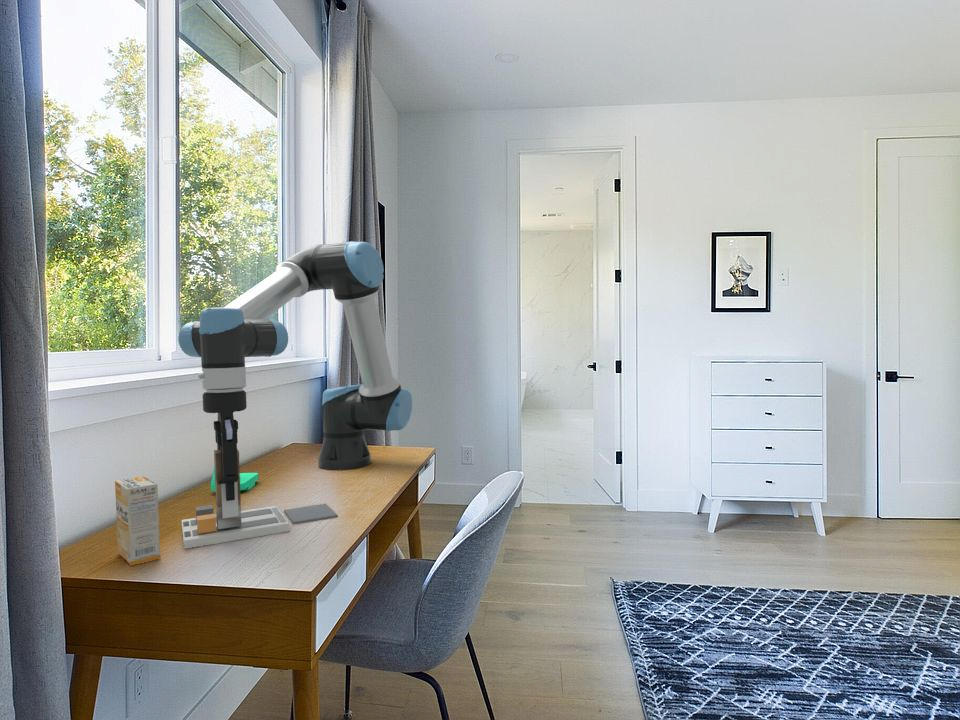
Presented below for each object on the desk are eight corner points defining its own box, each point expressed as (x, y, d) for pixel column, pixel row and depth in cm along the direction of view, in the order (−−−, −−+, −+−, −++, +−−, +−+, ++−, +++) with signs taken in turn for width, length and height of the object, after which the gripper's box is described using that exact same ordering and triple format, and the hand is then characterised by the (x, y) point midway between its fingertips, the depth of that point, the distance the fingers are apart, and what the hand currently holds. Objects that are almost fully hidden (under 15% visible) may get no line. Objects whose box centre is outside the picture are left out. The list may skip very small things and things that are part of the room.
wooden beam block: (239, 519, 113) (236, 448, 113) (241, 525, 110) (239, 451, 109) (216, 523, 112) (213, 450, 111) (218, 529, 108) (215, 453, 107)
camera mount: (243, 494, 141) (241, 452, 141) (211, 495, 141) (209, 453, 141) (259, 482, 153) (258, 443, 153) (230, 483, 153) (228, 444, 153)
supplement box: (116, 554, 102) (113, 480, 101) (147, 547, 105) (144, 475, 105) (129, 567, 96) (125, 488, 95) (161, 559, 99) (158, 482, 99)
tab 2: (214, 526, 111) (214, 513, 111) (216, 531, 108) (215, 517, 108) (197, 529, 109) (196, 516, 109) (198, 533, 107) (197, 520, 107)
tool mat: (325, 505, 130) (325, 503, 130) (337, 516, 121) (337, 514, 121) (283, 511, 126) (283, 509, 126) (292, 524, 117) (292, 522, 117)
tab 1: (212, 517, 117) (212, 504, 117) (213, 520, 114) (213, 508, 114) (195, 519, 116) (195, 507, 116) (196, 523, 113) (196, 510, 113)
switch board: (276, 512, 125) (276, 505, 125) (289, 531, 113) (288, 522, 112) (181, 527, 116) (181, 519, 116) (184, 548, 104) (183, 540, 104)
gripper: (199, 388, 116) (204, 505, 116) (205, 395, 100) (210, 529, 101) (240, 386, 119) (244, 500, 120) (251, 392, 104) (256, 522, 105)
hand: (229, 513), depth 111 cm, fingers closed on wooden beam block, 4 cm apart
